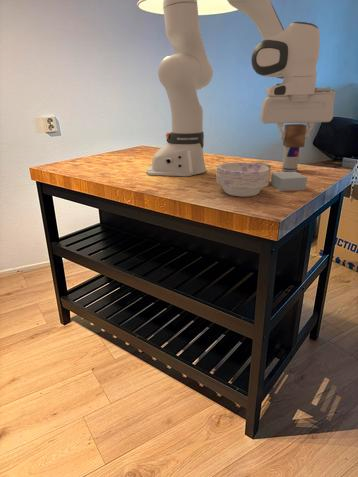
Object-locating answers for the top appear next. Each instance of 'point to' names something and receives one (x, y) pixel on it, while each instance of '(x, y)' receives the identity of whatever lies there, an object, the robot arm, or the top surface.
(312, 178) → the top surface
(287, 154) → the energy drink
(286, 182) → the base block
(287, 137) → the walnut block
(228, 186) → the paper bowls
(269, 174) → the beech block
